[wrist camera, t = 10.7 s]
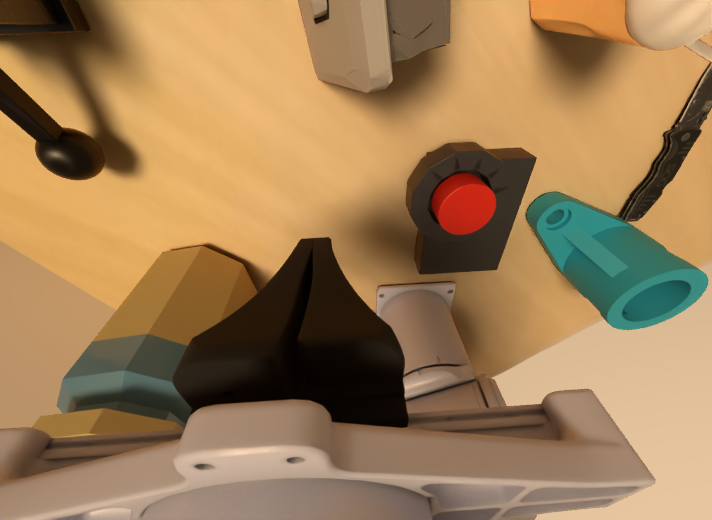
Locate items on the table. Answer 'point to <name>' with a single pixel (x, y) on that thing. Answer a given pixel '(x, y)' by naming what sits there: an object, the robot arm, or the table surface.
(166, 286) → the jar
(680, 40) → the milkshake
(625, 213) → the folding knife
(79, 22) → the bracket
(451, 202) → the button
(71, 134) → the lever
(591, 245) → the bracket
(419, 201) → the control block
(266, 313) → the robot arm
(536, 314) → the table surface
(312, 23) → the electrical switch
